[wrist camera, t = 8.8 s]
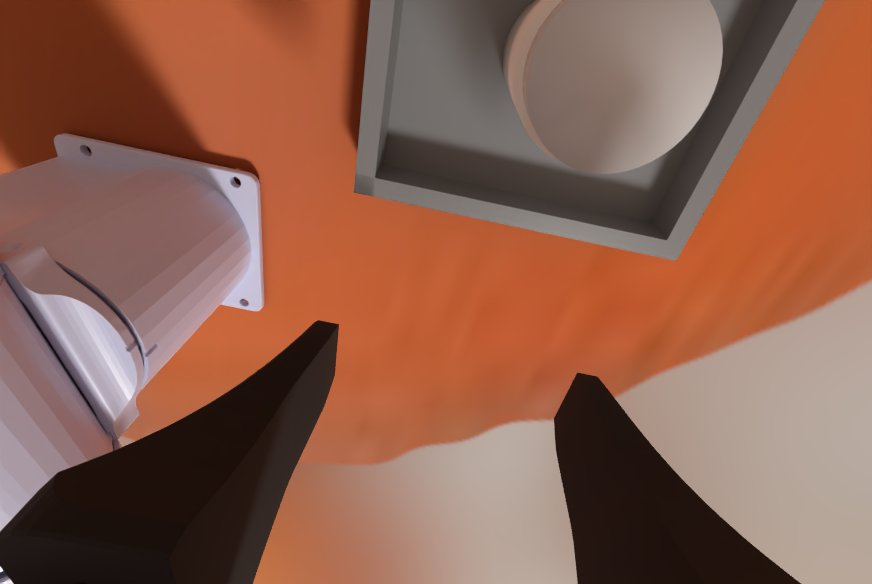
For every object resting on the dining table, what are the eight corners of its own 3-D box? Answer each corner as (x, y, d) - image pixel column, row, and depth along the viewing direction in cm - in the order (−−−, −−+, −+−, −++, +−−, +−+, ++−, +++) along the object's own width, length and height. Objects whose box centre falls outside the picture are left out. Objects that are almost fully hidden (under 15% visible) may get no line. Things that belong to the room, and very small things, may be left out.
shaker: (494, 113, 17) (502, 171, 10) (514, -19, 15) (542, -59, 8) (601, 125, 17) (682, 191, 10) (639, -7, 15) (776, -35, 8)
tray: (367, 174, 20) (353, 192, 18) (404, -196, 13) (391, -238, 11) (655, 236, 20) (675, 260, 18) (827, -93, 14) (890, -115, 12)
